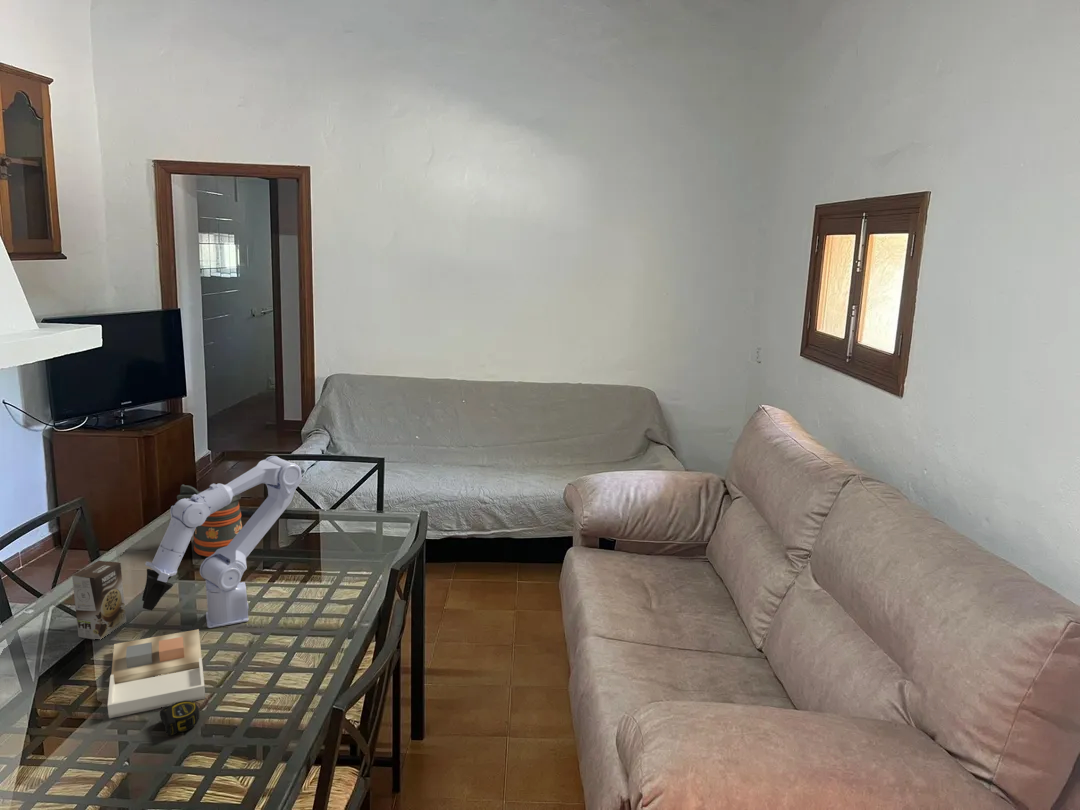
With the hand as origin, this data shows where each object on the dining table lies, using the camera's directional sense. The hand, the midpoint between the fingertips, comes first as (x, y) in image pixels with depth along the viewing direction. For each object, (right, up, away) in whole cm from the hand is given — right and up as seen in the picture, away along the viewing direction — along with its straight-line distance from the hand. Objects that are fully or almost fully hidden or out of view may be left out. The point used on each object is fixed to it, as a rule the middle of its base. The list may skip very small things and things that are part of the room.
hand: (146, 605), depth 186 cm
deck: (+4, -12, -3) cm, 13 cm away
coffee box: (-15, -8, +9) cm, 20 cm away
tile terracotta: (+8, -10, -4) cm, 13 cm away
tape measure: (+19, -18, -26) cm, 37 cm away
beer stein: (-8, +3, +57) cm, 57 cm away
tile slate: (+2, -11, -7) cm, 13 cm away
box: (+10, -15, -15) cm, 23 cm away
